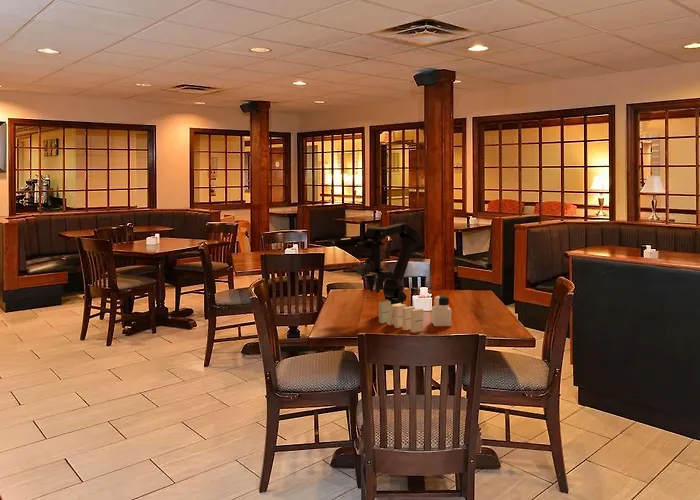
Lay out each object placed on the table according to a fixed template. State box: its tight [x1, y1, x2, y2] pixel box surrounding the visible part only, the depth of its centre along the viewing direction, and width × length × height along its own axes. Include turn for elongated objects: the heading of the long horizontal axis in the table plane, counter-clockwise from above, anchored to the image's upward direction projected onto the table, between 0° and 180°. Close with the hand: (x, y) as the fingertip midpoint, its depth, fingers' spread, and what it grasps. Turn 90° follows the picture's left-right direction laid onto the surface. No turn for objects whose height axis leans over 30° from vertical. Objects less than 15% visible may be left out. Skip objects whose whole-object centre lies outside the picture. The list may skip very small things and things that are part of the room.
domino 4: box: [410, 307, 424, 334], centre depth 251 cm, size 2×5×9 cm, turn 127°
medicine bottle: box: [431, 295, 452, 327], centre depth 262 cm, size 7×7×12 cm
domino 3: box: [401, 305, 416, 331], centre depth 255 cm, size 2×5×9 cm, turn 127°
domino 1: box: [386, 303, 402, 326], centre depth 262 cm, size 2×5×9 cm, turn 129°
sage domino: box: [378, 300, 391, 324], centre depth 267 cm, size 2×5×9 cm, turn 127°
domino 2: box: [393, 303, 408, 329], centre depth 259 cm, size 2×5×9 cm, turn 127°
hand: (374, 292), depth 271 cm, fingers open, 4 cm apart
